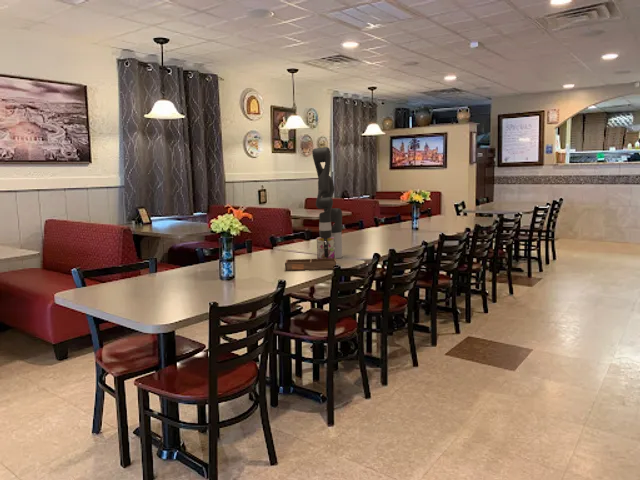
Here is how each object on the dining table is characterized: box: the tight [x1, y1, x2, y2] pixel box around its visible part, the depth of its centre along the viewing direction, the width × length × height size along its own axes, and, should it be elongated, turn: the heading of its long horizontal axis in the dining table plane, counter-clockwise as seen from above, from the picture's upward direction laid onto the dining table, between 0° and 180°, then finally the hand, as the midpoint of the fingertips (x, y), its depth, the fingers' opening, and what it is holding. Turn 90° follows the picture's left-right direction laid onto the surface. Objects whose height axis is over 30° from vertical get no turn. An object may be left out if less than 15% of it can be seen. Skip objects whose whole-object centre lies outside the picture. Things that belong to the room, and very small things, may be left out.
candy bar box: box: [316, 236, 335, 259], centre depth 313 cm, size 11×5×16 cm, turn 85°
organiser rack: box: [284, 258, 337, 272], centre depth 304 cm, size 11×30×5 cm, turn 89°
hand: (326, 256), depth 314 cm, fingers closed on candy bar box, 5 cm apart
